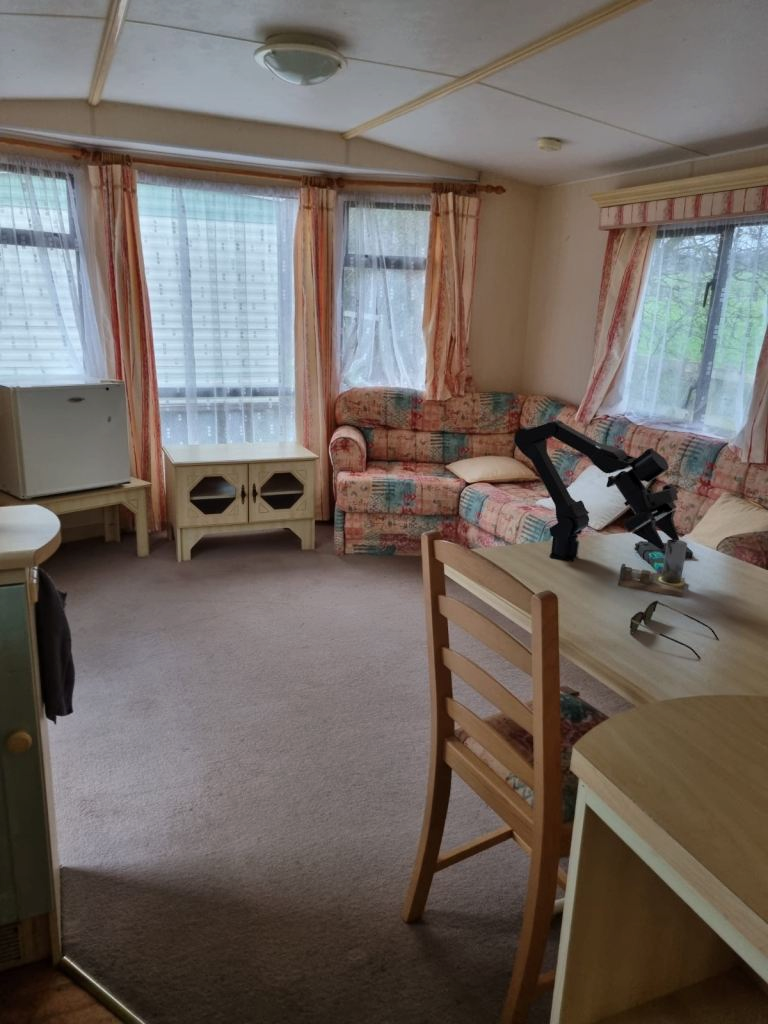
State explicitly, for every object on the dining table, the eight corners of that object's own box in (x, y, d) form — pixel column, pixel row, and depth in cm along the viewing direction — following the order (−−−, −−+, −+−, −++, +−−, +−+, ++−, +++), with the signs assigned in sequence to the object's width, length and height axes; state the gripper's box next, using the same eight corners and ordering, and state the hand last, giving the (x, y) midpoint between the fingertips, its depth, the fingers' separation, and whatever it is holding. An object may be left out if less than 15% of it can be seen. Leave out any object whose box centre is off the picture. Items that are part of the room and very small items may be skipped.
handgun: (683, 540, 207) (631, 536, 208) (719, 572, 183) (660, 567, 183) (680, 552, 208) (629, 547, 209) (716, 585, 184) (658, 580, 184)
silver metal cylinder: (665, 583, 176) (672, 545, 173) (658, 576, 180) (664, 539, 177) (684, 583, 176) (690, 545, 173) (675, 577, 180) (681, 539, 178)
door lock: (617, 584, 178) (619, 568, 177) (623, 571, 187) (625, 555, 186) (681, 596, 172) (684, 579, 171) (684, 582, 182) (686, 566, 180)
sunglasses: (652, 618, 159) (657, 598, 158) (720, 645, 150) (726, 624, 149) (625, 638, 149) (630, 616, 147) (697, 668, 140) (703, 645, 138)
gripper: (644, 479, 168) (683, 535, 165) (674, 469, 182) (711, 521, 178) (608, 504, 176) (644, 558, 172) (640, 493, 189) (674, 543, 185)
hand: (670, 544), depth 176 cm, fingers open, 9 cm apart
